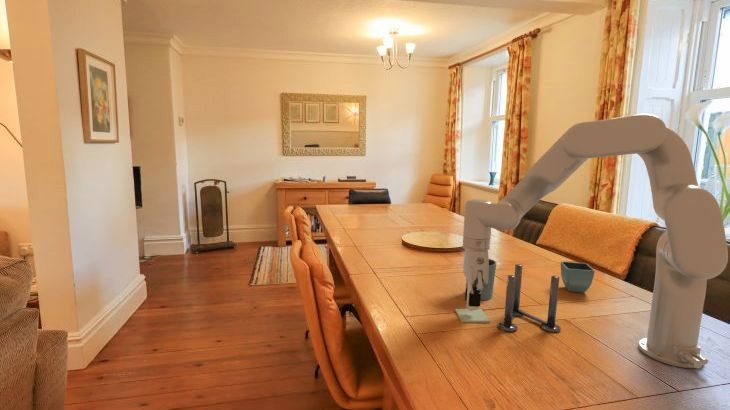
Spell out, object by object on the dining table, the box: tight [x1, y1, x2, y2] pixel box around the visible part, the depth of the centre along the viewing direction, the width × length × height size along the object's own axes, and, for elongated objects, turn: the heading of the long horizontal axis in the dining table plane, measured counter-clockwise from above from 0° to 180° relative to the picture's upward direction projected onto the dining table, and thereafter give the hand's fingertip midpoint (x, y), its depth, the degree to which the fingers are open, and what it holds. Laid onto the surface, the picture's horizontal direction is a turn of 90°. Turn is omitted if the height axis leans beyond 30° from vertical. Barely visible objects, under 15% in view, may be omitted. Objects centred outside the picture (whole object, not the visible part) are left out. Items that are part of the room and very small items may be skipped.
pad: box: [455, 308, 491, 324], centre depth 114 cm, size 8×8×1 cm
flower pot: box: [560, 261, 596, 293], centre depth 136 cm, size 9×9×9 cm
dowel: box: [465, 281, 479, 311], centre depth 113 cm, size 3×3×10 cm
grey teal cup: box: [465, 258, 498, 301], centre depth 130 cm, size 10×10×12 cm
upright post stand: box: [497, 263, 562, 334], centre depth 111 cm, size 15×17×15 cm
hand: (472, 302), depth 114 cm, fingers closed on dowel, 3 cm apart
